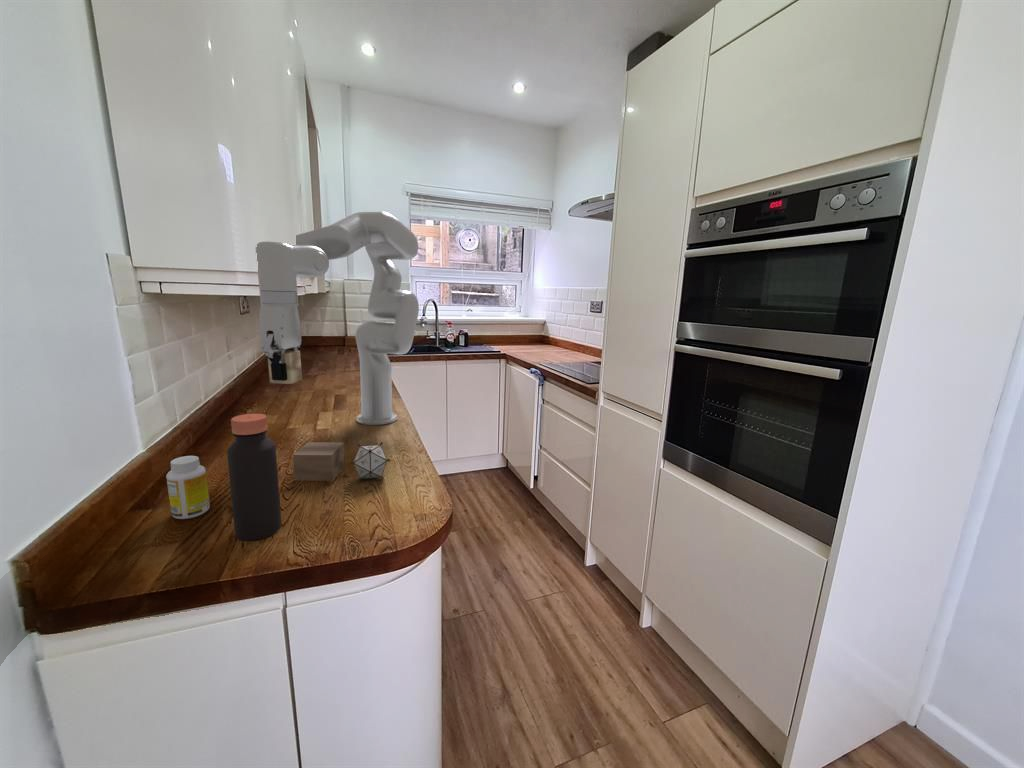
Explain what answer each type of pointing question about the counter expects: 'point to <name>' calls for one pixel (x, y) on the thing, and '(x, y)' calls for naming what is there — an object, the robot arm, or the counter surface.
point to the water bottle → (253, 478)
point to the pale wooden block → (289, 367)
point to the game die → (370, 461)
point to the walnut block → (318, 461)
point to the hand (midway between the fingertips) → (286, 376)
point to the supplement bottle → (187, 488)
